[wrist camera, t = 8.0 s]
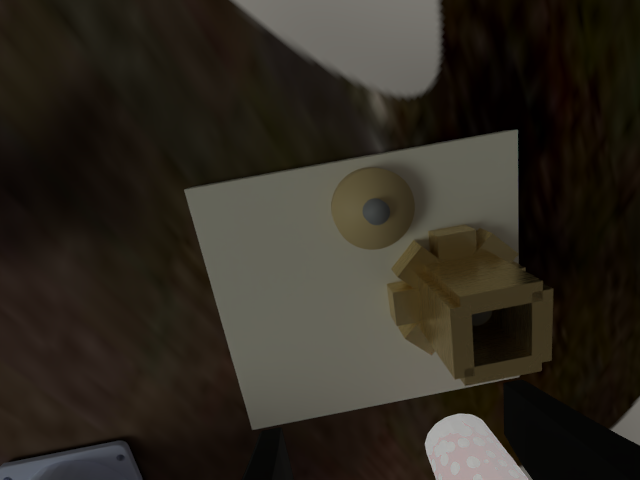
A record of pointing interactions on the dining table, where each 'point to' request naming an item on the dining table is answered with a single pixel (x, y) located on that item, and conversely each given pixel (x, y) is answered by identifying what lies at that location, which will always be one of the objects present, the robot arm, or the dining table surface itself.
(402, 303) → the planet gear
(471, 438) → the beverage cup
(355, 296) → the plate
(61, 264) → the dining table surface
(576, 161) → the dining table surface
